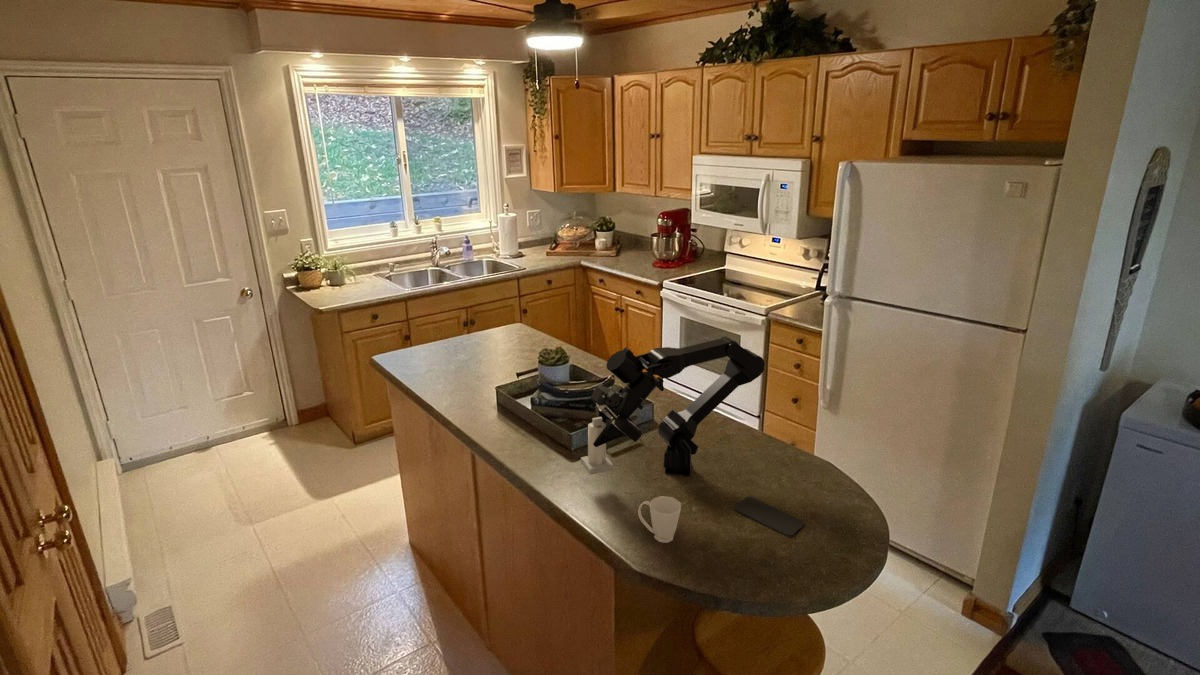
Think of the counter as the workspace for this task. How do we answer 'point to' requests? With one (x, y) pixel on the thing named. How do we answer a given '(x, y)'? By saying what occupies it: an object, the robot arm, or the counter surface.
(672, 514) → the cup
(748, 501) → the phone
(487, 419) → the counter surface
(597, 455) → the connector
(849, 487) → the counter surface
